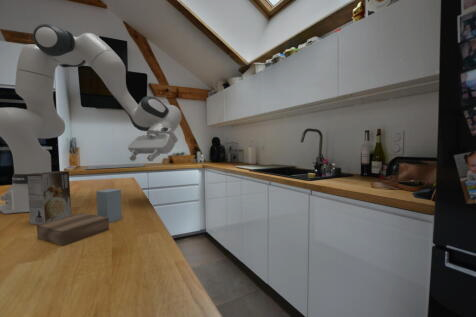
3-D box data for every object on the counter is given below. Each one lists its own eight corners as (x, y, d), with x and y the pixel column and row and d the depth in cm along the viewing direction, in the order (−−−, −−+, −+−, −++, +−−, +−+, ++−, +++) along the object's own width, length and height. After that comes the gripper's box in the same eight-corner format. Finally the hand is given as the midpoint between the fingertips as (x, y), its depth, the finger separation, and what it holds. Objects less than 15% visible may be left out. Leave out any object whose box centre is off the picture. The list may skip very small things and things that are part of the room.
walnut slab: (37, 239, 61) (36, 224, 61) (83, 225, 72) (83, 212, 72) (63, 247, 56) (62, 231, 56) (108, 231, 67) (108, 217, 67)
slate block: (97, 221, 75) (96, 191, 74) (111, 217, 79) (110, 188, 79) (107, 223, 72) (106, 192, 72) (121, 218, 77) (120, 189, 76)
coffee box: (57, 215, 81) (55, 170, 80) (72, 216, 80) (70, 171, 79) (28, 224, 72) (26, 173, 71) (45, 225, 71) (42, 174, 70)
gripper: (136, 130, 97) (116, 154, 89) (173, 128, 89) (155, 154, 80) (144, 141, 102) (126, 164, 93) (181, 140, 93) (165, 165, 85)
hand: (140, 159), depth 87 cm, fingers open, 8 cm apart
